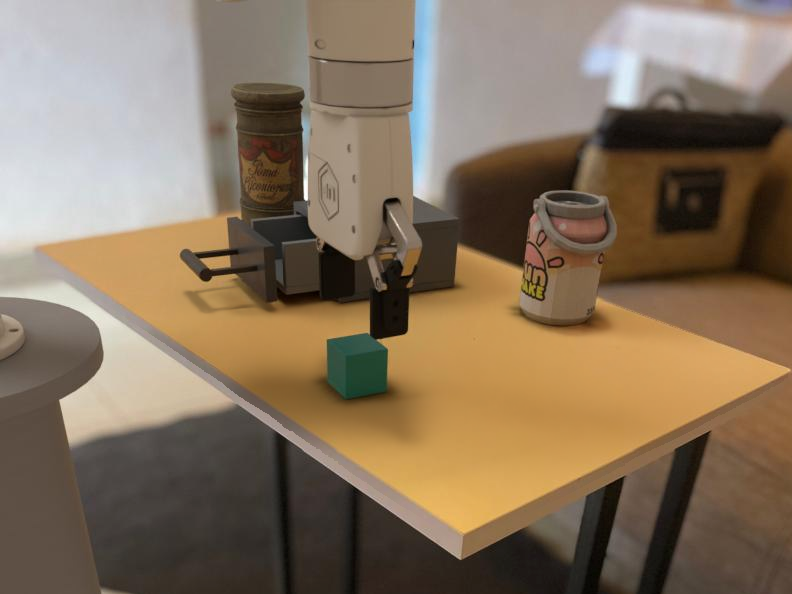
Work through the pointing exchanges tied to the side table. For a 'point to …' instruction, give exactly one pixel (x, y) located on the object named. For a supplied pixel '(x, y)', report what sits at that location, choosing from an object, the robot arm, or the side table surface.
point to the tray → (266, 256)
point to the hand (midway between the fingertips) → (362, 315)
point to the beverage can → (565, 256)
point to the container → (269, 148)
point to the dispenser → (434, 257)
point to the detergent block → (357, 365)
